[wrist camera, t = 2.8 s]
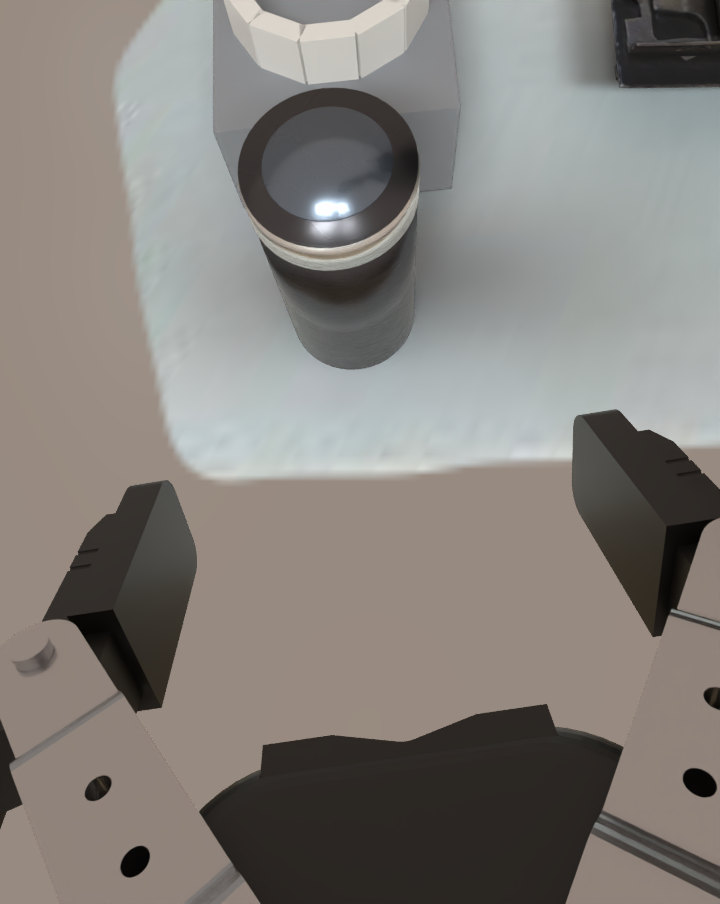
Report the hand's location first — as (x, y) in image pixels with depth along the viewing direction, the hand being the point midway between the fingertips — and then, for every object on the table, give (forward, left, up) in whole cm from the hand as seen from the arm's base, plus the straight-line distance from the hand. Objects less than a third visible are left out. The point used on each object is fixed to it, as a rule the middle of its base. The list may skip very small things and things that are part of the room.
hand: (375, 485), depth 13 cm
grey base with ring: (+1, -23, -14) cm, 27 cm away
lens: (+1, -11, -14) cm, 18 cm away
